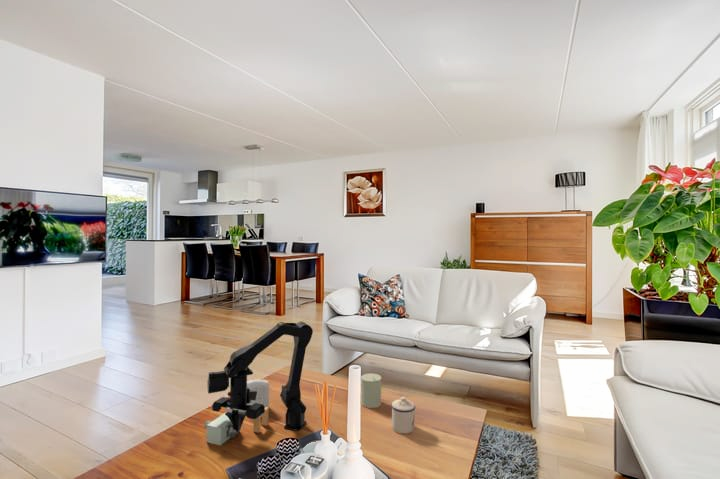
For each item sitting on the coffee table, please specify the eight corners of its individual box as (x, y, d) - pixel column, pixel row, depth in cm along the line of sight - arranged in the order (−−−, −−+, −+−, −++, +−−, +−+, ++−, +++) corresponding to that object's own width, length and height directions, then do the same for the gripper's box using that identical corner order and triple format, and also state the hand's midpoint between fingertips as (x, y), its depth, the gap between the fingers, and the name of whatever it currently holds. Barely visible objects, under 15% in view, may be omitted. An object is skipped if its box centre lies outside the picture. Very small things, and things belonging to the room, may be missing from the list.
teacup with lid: (418, 433, 130) (418, 402, 130) (394, 435, 129) (394, 403, 129) (408, 417, 142) (409, 388, 142) (387, 418, 141) (387, 390, 141)
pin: (238, 433, 127) (239, 421, 127) (230, 440, 123) (230, 427, 123) (211, 427, 131) (211, 415, 131) (202, 433, 127) (202, 421, 127)
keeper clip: (268, 424, 135) (268, 407, 136) (258, 432, 129) (258, 415, 129) (263, 423, 136) (263, 406, 136) (253, 431, 130) (253, 414, 130)
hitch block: (239, 430, 131) (239, 414, 131) (220, 445, 121) (220, 428, 121) (226, 427, 133) (226, 412, 133) (206, 442, 123) (206, 425, 123)
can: (367, 410, 148) (367, 381, 148) (356, 401, 156) (357, 374, 156) (385, 405, 152) (385, 377, 153) (374, 396, 160) (374, 370, 160)
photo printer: (269, 406, 150) (270, 377, 150) (268, 410, 146) (268, 381, 146) (245, 407, 149) (245, 378, 149) (243, 412, 145) (243, 382, 145)
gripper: (273, 382, 129) (273, 424, 129) (232, 376, 135) (231, 416, 135) (255, 395, 119) (255, 441, 119) (211, 387, 125) (210, 430, 125)
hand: (238, 431), depth 125 cm, fingers closed
